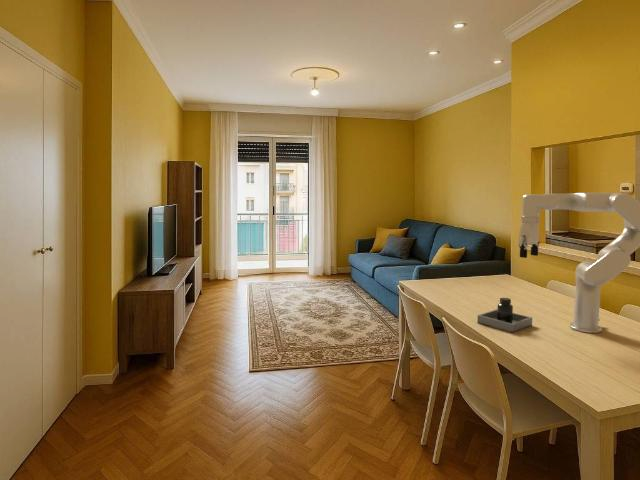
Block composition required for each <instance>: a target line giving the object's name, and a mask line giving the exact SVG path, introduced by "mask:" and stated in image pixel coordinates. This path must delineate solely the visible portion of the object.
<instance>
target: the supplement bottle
mask: <svg viewBox="0 0 640 480" xmlns="http://www.w3.org/2000/svg"><path fill="white" fill-rule="evenodd" d="M496 309H497V320H500V321H504V322H507V323H511V324H512V322H513V313H514V306H513V305H512V299H511V298H509V297H500V298H499V303H498V304H497V308H496Z"/></svg>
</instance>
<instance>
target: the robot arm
mask: <svg viewBox="0 0 640 480" xmlns="http://www.w3.org/2000/svg"><path fill="white" fill-rule="evenodd" d="M541 210H547V211H552V210H553V211H554V210H567V211H568V210H569V211H575V212H586V213H587V212H591V213H592V212H593V213H596V212H597V213H598V212H600V213H602V212H603V213H617V214H618V215H620V217H622V219H623V230H622V233H620V235H619V236H617V237H616V238H615V239H614V240H613V241H611V242H610V243H609V244H607V245H605V246H604V247H603V248H602V249H600V250H599V252H598V254H597V257H596V258H597V261H595V262H593V261H587V260H586V261H582V262H580V263H579V264H578V265H577V266H576V268H575V275H574V276H575V295H574V297H575V298H574V312H573V313H574V315H573V322H570V324H569V328H571V329H572V330H575V331H577V332H581V333H588V334H590V333H591V334H598V333H601V332H603V328H602V327H601V326H600V325H599V322H600V320H601V319H600V317H599V315H600V303H601V302H600V300H601V286H603V285H605V284H607V283H608V282H610V281H612V280H613V279H614V278H616V277H617V276H619V274H621V273H623V272H624V271H625V270H626V269H627V268H628V267H629V266H630V264H631V255H632V254H633V253H634V252H635V251H636V250H637V249H639V248H640V202H639V201H638V200H637V198H635V197H633V196H632V195H631V194H629V193H625V192H576V193H575V192H574V193H573V192H572V193H551V192H550V193H549V192H547V193H544V194H538V193H535V194H534V193H532V194H531V193H529V194H528V193H527V194H524V195H522V199H521V220H520V221H521V223H520V227H519V236H518V240H517V242H518V247H519V258H525V259H527V257H528V249H527V248H528V246H530V255H531V256H534V257H535V256H536V257H537V256H539V247H540V241H541V237H540V226H539V225H540V215H541Z"/></svg>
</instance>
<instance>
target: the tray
mask: <svg viewBox="0 0 640 480" xmlns="http://www.w3.org/2000/svg"><path fill="white" fill-rule="evenodd" d="M476 323H477V324H479V323H480V325H483V324H484V325H483V326H486V325H487V327H490V328H493V329H496V330H500V331H504V332H507V333H511V334H513V333H514V334H515V333H517V332H519V331H522V330H524V329H526V328H530V327H532V326H533V317H531V316H527V315H523V314H519V313H515V312H513V322H512V324H511V323H507V322H504V321H500V320H497V308H496V309H492V310H490V311H487V312H486V311H485V312H484V313H481V314H480V313H479V314H477V322H476Z"/></svg>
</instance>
